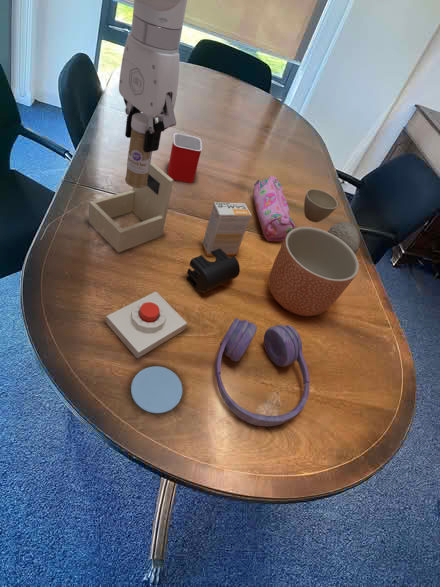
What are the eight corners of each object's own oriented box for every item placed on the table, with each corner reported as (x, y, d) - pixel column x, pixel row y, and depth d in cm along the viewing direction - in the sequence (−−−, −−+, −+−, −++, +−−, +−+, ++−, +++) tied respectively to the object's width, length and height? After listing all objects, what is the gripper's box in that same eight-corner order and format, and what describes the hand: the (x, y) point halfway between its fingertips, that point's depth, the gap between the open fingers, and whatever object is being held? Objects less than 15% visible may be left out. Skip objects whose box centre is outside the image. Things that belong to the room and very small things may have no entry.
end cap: (203, 300, 85) (210, 279, 80) (183, 279, 88) (189, 257, 83) (234, 284, 91) (243, 264, 86) (215, 265, 94) (223, 244, 89)
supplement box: (230, 243, 101) (245, 202, 92) (236, 256, 98) (252, 214, 89) (200, 243, 98) (213, 201, 89) (206, 256, 95) (219, 214, 86)
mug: (194, 184, 115) (202, 152, 108) (166, 179, 113) (173, 145, 106) (193, 163, 123) (200, 132, 116) (167, 158, 121) (173, 125, 114)
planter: (333, 293, 99) (364, 249, 88) (318, 338, 87) (352, 293, 76) (273, 263, 101) (297, 216, 90) (251, 302, 89) (275, 254, 78)
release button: (147, 325, 72) (148, 319, 71) (135, 312, 73) (136, 307, 72) (162, 317, 74) (163, 311, 73) (150, 305, 76) (151, 299, 74)
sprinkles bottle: (123, 186, 77) (130, 120, 67) (126, 174, 80) (133, 109, 70) (146, 191, 78) (156, 126, 68) (148, 179, 81) (158, 115, 71)
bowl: (319, 208, 126) (329, 190, 121) (331, 228, 120) (343, 209, 114) (292, 206, 122) (302, 187, 117) (304, 226, 116) (314, 207, 111)
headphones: (211, 327, 80) (210, 426, 69) (221, 307, 73) (222, 413, 62) (292, 338, 84) (304, 433, 73) (309, 319, 77) (325, 421, 66)
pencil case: (248, 196, 119) (258, 170, 113) (276, 202, 121) (287, 177, 115) (256, 241, 105) (268, 214, 98) (288, 247, 107) (301, 221, 101)
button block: (137, 359, 71) (139, 346, 68) (105, 322, 74) (106, 309, 72) (185, 329, 78) (189, 317, 76) (154, 297, 82) (157, 285, 79)
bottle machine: (118, 252, 88) (124, 193, 77) (88, 222, 92) (90, 162, 81) (162, 235, 96) (173, 180, 85) (133, 208, 100) (140, 151, 89)
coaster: (152, 424, 64) (153, 423, 63) (120, 384, 67) (120, 383, 67) (192, 394, 69) (192, 393, 69) (160, 359, 72) (160, 357, 72)
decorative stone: (315, 240, 113) (330, 212, 106) (340, 244, 115) (357, 217, 108) (324, 264, 106) (342, 237, 99) (351, 268, 108) (370, 241, 101)
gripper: (103, 10, 60) (98, 123, 73) (173, 57, 55) (154, 171, 67) (141, 13, 65) (130, 119, 78) (210, 56, 59) (185, 163, 72)
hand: (141, 142), depth 72 cm, fingers closed on sprinkles bottle, 4 cm apart
